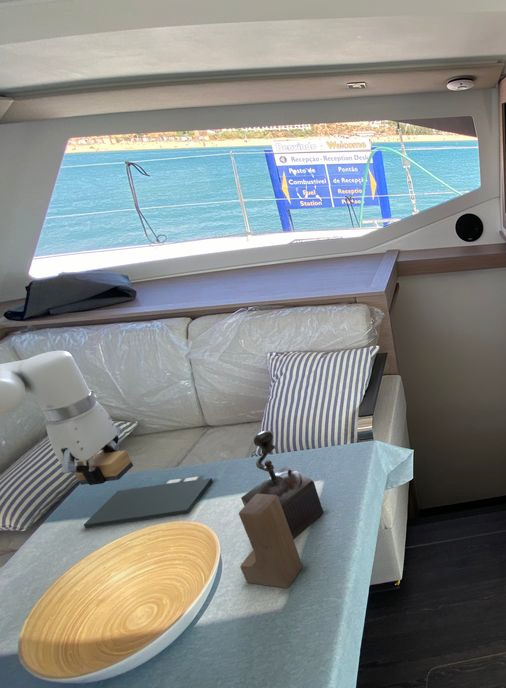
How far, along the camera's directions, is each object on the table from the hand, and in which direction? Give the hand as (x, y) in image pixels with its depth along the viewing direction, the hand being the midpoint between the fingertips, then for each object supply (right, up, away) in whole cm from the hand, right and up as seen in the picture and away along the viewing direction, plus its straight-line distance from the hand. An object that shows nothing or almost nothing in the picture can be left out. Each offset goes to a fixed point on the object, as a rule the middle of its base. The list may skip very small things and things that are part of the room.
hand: (107, 473), depth 94 cm
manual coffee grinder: (+42, -8, -3) cm, 43 cm away
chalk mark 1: (+7, -6, +10) cm, 13 cm away
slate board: (+7, -9, +4) cm, 12 cm away
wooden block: (+47, -13, -16) cm, 52 cm away
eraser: (0, 0, 0) cm, 0 cm away
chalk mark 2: (+11, -5, +10) cm, 16 cm away
